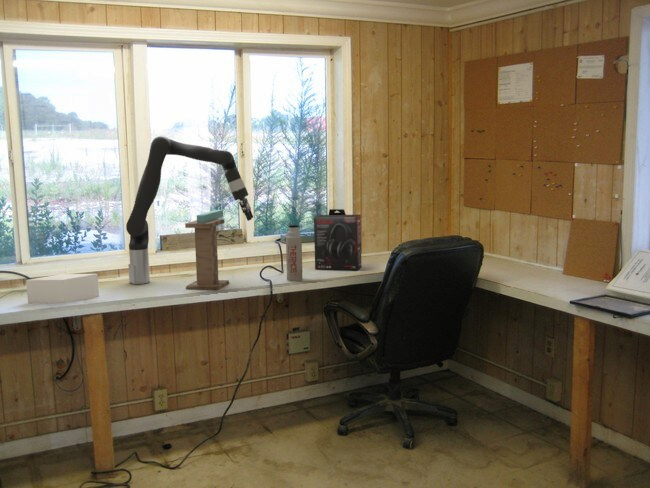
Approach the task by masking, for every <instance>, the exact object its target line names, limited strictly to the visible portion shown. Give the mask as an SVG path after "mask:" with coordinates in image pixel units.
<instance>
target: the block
mask: <svg viewBox="0 0 650 488" xmlns="http://www.w3.org/2000/svg"><path fill="white" fill-rule="evenodd" d="M98 275H99V274H98V273H60V274H55V275H49V276H42V277H36V278H31V279H25V283H26V295H27V304H68V303H70V302H71V303H72V302H76V301H77V302H78V301H82V300H87V299H92V298H97V297H99V296H100V291H99V288H100V287H99V276H98Z"/></svg>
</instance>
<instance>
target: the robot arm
mask: <svg viewBox="0 0 650 488" xmlns="http://www.w3.org/2000/svg"><path fill="white" fill-rule="evenodd" d="M169 155H170V156H180V157H186V158H189V159H192V160H196V161H200V162H205V163H213V164H216V165H221V167H222V168H223V171H224V176H225V179H226V182H227V183H228V187H229V190H230V192H231V194H232V197H233V199H234V201H238V200H239V203H238V204H239V206H240V208H241V211H242V213H243V214H244V215H245V219H246V220H247V222H249V221H252V220H253V218H254V215H253V212H252V207H251V205H250V204H249V200H248V198H247V197H248V196H249V192H248V189H247V187H246V185H245V181H244V180H243V179H242V177H241V174H240V172H239V170H238V167H237V165H236V161H235V158H234V156H233V153H232V152H231V151H229V150H220V149H214V148H211V147H206V146H202V145H196V144H189V143H188V144H187V143H183V142H179V141H175V140H173V139H171V138H168V137H166V136H161V135H160V136H157V137H154V138H153V139H152V140H151V143H150V148H149V153H148V157H147V162H146V166H145V168H144V170H143V172H142V176H141V178H140V182H139V185H138V188H137V192H136V195H135V201H134V203H133V204H134V205H133V207H132V210H131V212H130V216H129V217H128V220H127V222H126V225H125V226H126V227H125V229H126V232H127V234H128V235H129V238H130V240H129V243H128V252H129V256H128V257H129V263H128V265H127V266H128V280H129V283H130V284H133V285H143V284H149V283H150V282H151V281H150V280H151V278H150V276H151V275H150V263H149V262H150V261H149V259H150V257H149V242H150V241H149V240H150V238H149V237H150V236H149V224H148V221H147V216H148V213H149V210H150V208H151V207H152V205H153V203H154V201H155V199H156V197H157V195H158V191H159V189H160V184H161V178H162V168H163V164H164V162H165V159H166V156H169Z"/></svg>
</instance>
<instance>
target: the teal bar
mask: <svg viewBox="0 0 650 488" xmlns="http://www.w3.org/2000/svg"><path fill="white" fill-rule="evenodd" d="M222 218H224V210H223V209H215V210H212V211H208V212H204V213H200V214H197V215H196V220H197V223H205V222H208V221H211V220H214V219H222Z"/></svg>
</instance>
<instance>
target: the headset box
mask: <svg viewBox="0 0 650 488" xmlns="http://www.w3.org/2000/svg"><path fill="white" fill-rule="evenodd" d="M361 216H362V215H361V214H346V212H345V209H344V208H343V209H342V208H341V209H339V208H337V209H336V208H335V209H331V208H330V209H329V211H328V214H316V215H315V216H313V233H314V234H313V235H314V237H313V239H314V269H315V270H321V271H322V270H327V271H328V270H334V271H335V270H338V271H359V269H361V268H362V217H361Z"/></svg>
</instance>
